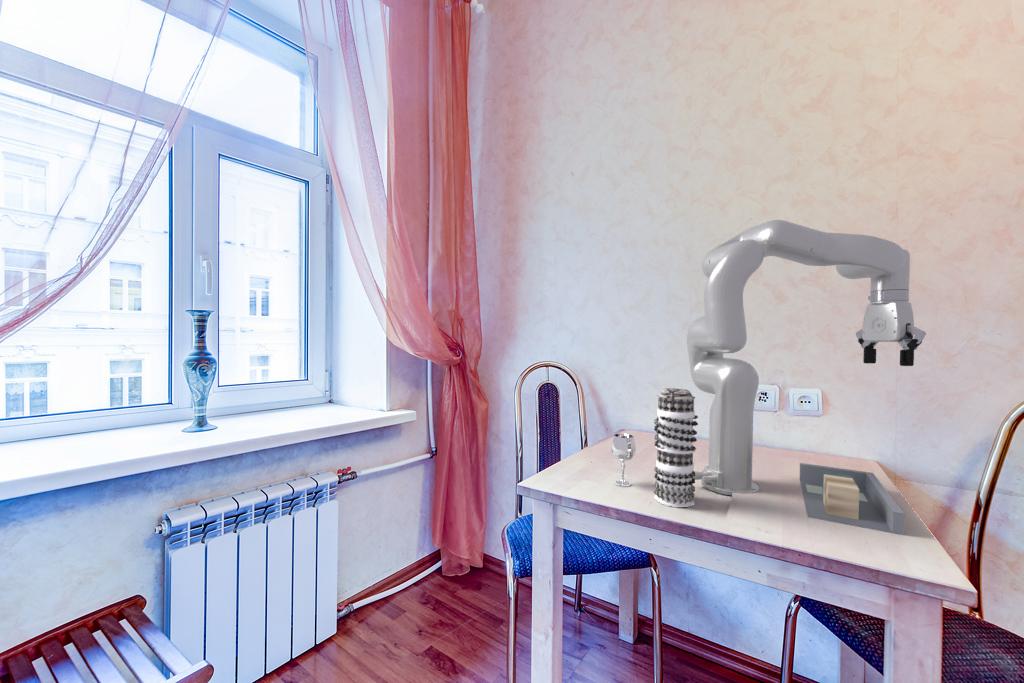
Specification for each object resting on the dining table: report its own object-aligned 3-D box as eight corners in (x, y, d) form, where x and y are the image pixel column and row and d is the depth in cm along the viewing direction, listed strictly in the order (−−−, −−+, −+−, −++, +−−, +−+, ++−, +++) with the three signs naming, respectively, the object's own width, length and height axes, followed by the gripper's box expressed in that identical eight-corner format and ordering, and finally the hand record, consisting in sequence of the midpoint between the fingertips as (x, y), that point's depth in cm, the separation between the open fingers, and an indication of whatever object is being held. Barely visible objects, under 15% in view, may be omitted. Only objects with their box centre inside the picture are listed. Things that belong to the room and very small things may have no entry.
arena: (903, 540, 79) (904, 513, 79) (807, 521, 86) (808, 497, 86) (872, 493, 103) (872, 472, 103) (799, 482, 110) (799, 462, 110)
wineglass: (609, 485, 106) (610, 437, 106) (612, 478, 111) (613, 432, 111) (633, 489, 104) (634, 439, 104) (636, 481, 109) (636, 434, 109)
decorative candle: (705, 507, 93) (708, 392, 93) (667, 510, 91) (669, 392, 91) (680, 492, 102) (682, 386, 102) (645, 494, 100) (647, 387, 100)
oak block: (858, 519, 85) (859, 489, 85) (827, 514, 88) (828, 484, 88) (850, 503, 94) (851, 475, 94) (822, 498, 97) (822, 471, 97)
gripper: (846, 300, 119) (844, 362, 120) (911, 294, 102) (909, 367, 102) (870, 301, 120) (868, 362, 120) (938, 295, 103) (936, 367, 103)
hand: (887, 364), depth 111 cm, fingers open, 9 cm apart
